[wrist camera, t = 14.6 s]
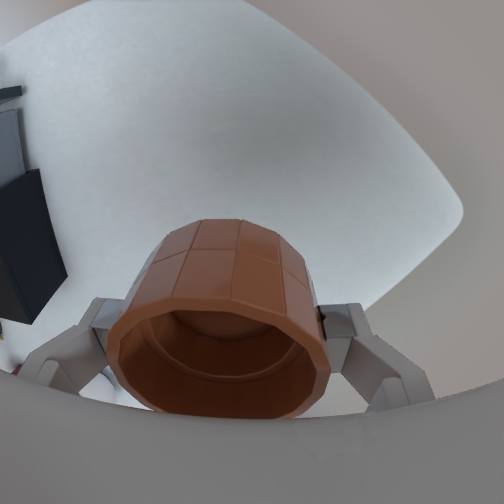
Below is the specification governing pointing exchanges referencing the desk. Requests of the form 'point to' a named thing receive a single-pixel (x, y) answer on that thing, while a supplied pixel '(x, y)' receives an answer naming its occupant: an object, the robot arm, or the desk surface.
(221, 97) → the desk surface
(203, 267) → the terracotta cup
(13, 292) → the black drawer cabinet
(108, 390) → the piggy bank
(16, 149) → the drawer
